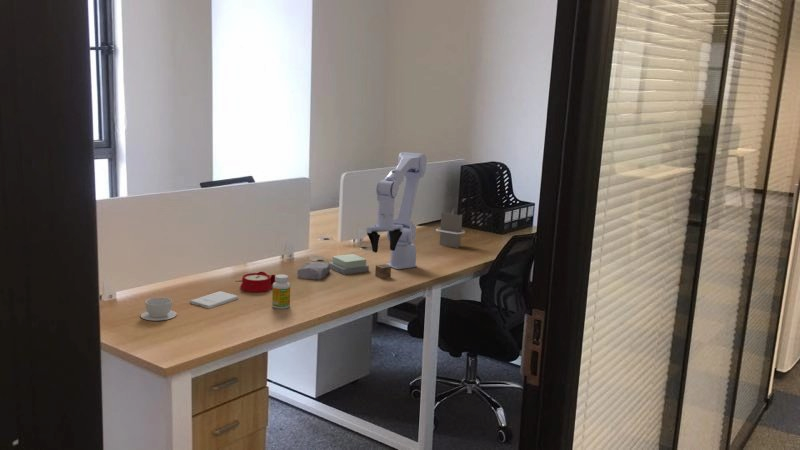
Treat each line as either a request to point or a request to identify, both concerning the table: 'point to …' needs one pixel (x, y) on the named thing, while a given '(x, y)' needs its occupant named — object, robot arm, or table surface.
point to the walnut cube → (383, 271)
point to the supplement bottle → (281, 292)
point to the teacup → (158, 309)
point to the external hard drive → (214, 299)
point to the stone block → (313, 270)
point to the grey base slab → (348, 269)
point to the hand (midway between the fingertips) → (383, 251)
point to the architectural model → (450, 230)
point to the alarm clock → (257, 282)
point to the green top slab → (349, 261)
